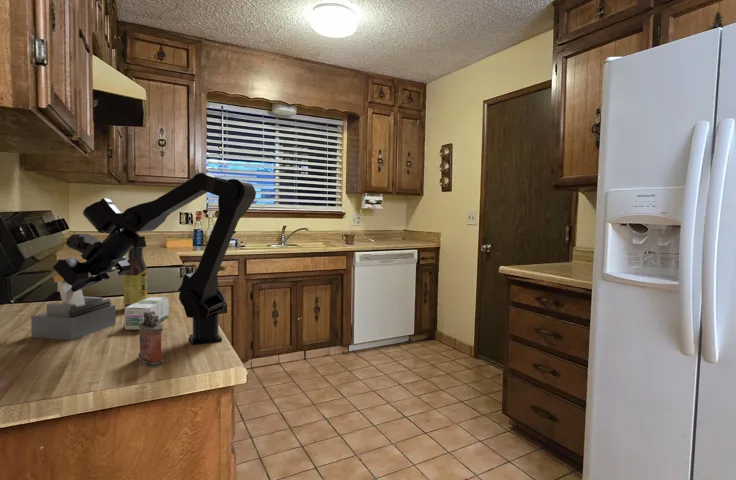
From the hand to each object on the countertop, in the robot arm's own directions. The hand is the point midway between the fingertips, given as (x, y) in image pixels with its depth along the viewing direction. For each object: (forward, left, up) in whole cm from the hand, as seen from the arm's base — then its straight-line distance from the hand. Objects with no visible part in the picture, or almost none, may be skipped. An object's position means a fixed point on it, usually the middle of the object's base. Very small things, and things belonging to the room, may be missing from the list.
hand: (73, 290), depth 100 cm
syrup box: (+7, -19, -7) cm, 22 cm away
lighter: (-30, -16, -10) cm, 36 cm away
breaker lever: (0, -1, -5) cm, 5 cm away
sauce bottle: (+20, -14, -10) cm, 26 cm away
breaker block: (0, -1, -10) cm, 10 cm away
